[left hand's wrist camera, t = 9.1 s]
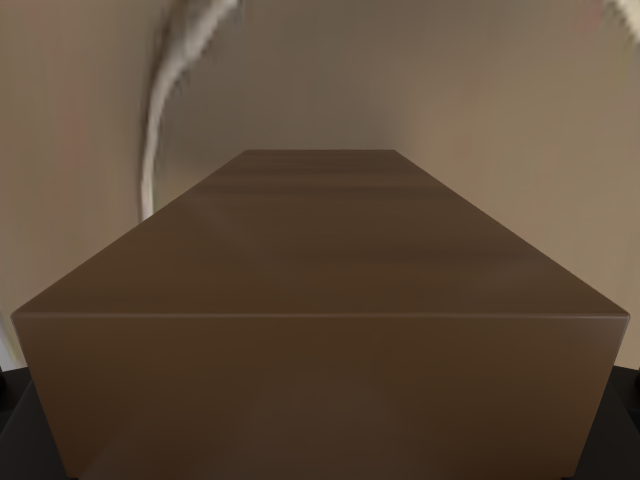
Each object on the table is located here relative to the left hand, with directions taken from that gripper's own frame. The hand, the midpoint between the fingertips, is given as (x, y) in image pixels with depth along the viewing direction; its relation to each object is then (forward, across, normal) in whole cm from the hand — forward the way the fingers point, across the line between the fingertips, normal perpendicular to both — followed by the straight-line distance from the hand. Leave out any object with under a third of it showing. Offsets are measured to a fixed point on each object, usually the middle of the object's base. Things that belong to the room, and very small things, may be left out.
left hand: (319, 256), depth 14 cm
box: (+3, 0, -7) cm, 7 cm away
